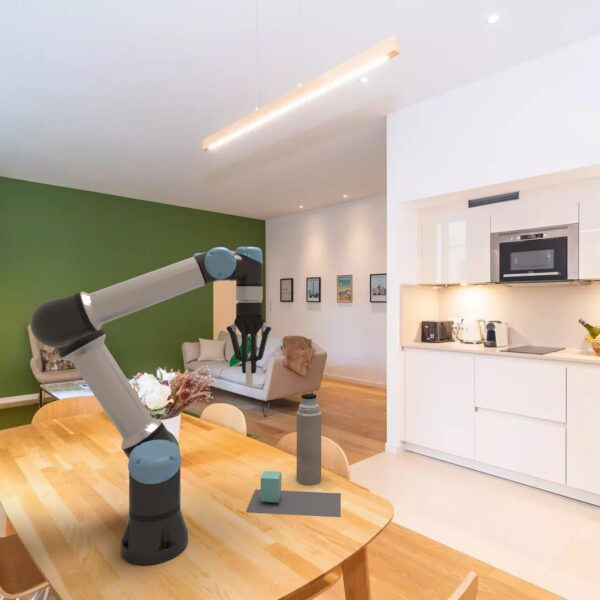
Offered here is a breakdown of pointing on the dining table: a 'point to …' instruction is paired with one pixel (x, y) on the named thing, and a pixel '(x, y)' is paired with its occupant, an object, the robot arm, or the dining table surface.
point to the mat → (298, 504)
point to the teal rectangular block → (271, 486)
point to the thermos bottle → (309, 441)
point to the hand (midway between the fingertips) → (249, 384)
